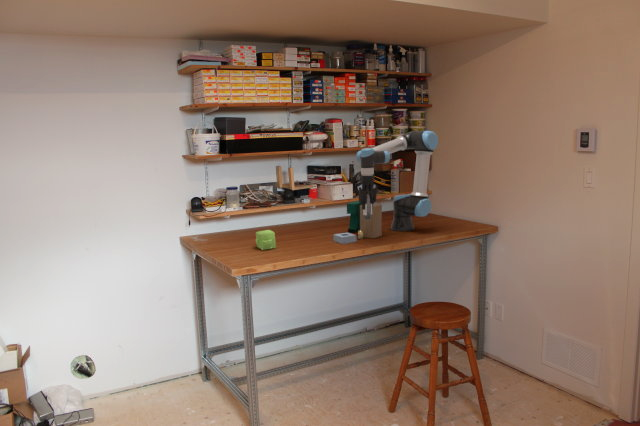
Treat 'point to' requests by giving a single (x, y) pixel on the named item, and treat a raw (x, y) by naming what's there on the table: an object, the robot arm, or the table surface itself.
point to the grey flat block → (344, 238)
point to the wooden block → (372, 222)
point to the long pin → (368, 207)
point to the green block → (265, 239)
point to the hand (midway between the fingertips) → (367, 214)
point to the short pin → (360, 234)
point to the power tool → (354, 217)
